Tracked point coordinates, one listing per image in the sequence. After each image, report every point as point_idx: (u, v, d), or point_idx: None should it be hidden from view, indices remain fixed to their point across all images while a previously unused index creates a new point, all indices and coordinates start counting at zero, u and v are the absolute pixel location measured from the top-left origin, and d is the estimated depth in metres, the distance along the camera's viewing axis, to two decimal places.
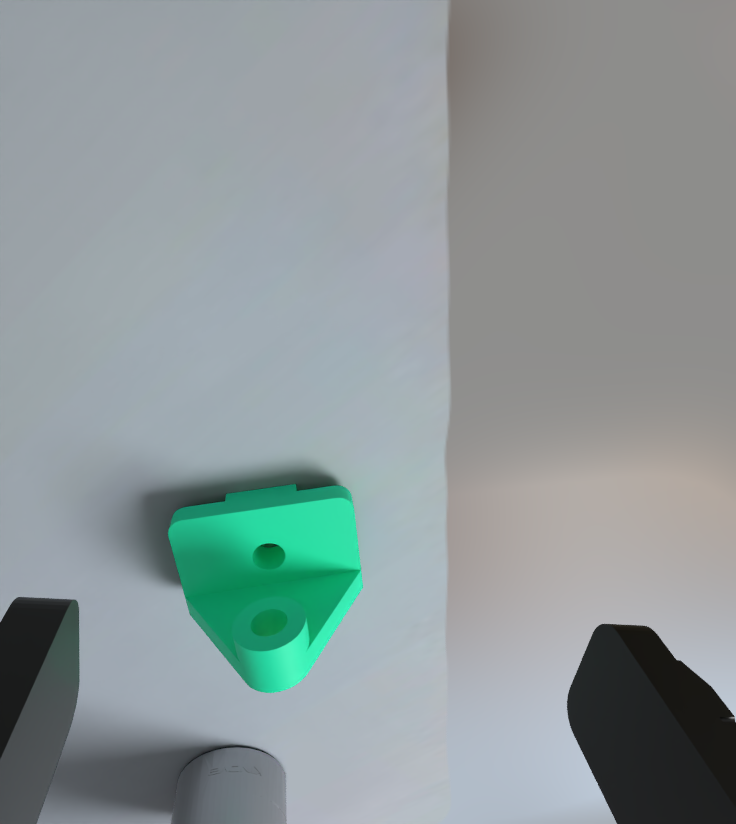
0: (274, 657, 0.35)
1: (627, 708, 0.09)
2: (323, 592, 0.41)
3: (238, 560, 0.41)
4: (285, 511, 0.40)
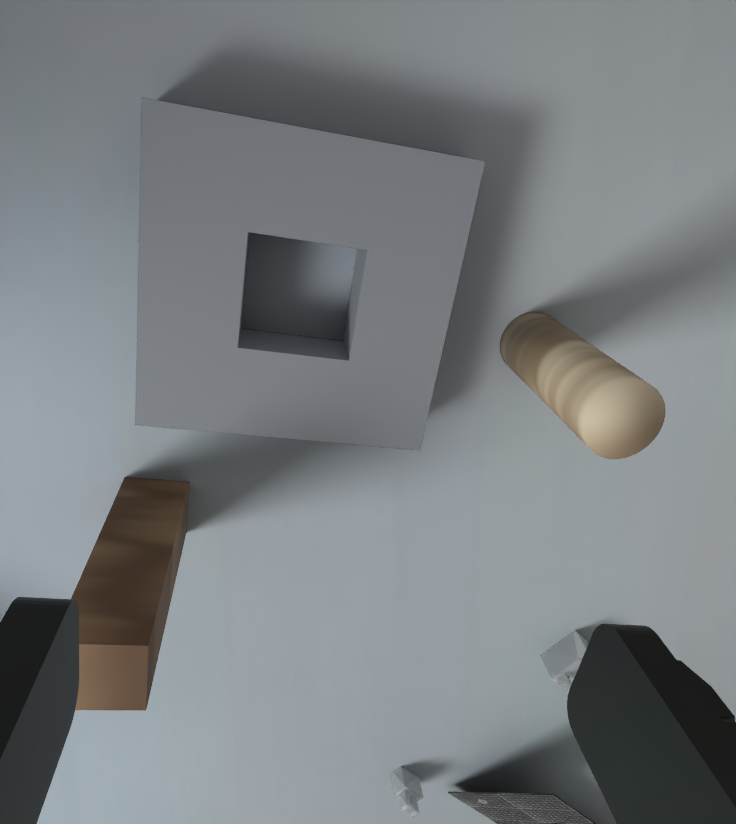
0: None
1: (627, 708, 0.09)
2: None
3: None
4: None
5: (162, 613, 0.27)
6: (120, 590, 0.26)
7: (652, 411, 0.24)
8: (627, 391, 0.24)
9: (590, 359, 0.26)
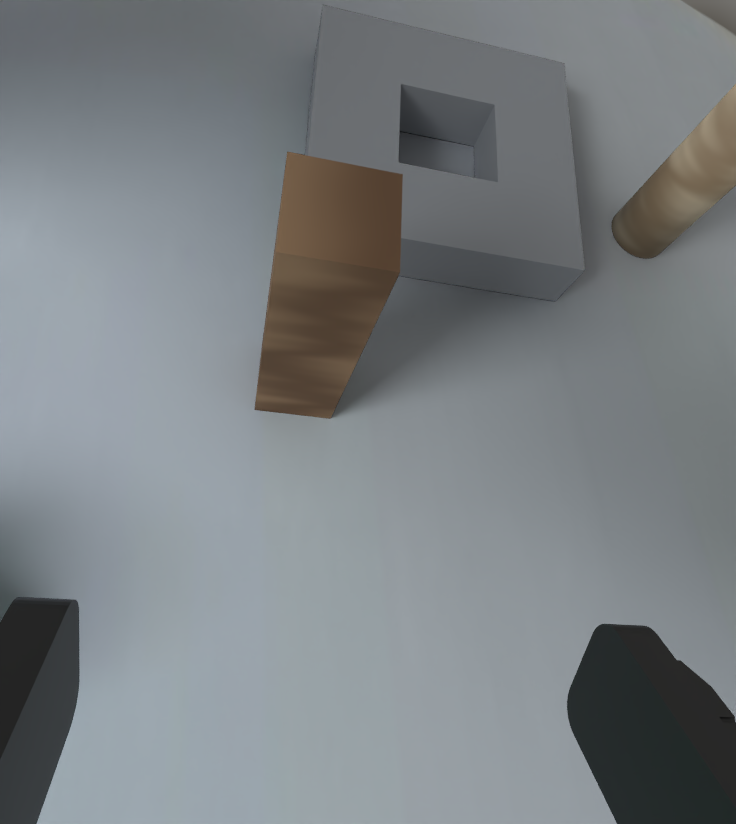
0: None
1: (627, 708, 0.09)
2: None
3: None
4: None
5: None
6: None
7: None
8: None
9: None
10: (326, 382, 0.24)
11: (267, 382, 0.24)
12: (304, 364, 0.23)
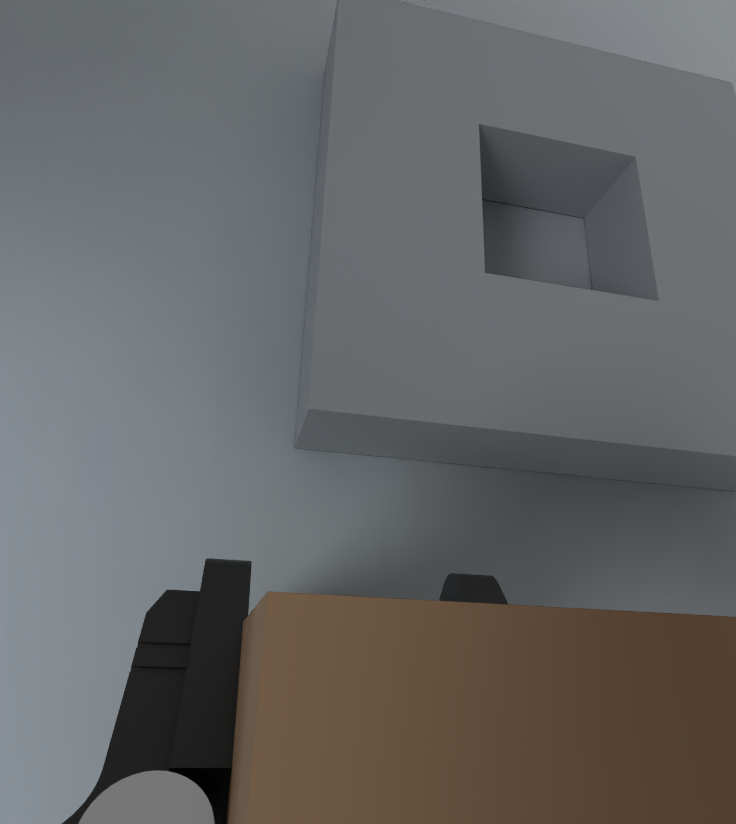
0: None
1: None
2: None
3: None
4: None
5: None
6: None
7: None
8: None
9: None
10: None
11: None
12: None
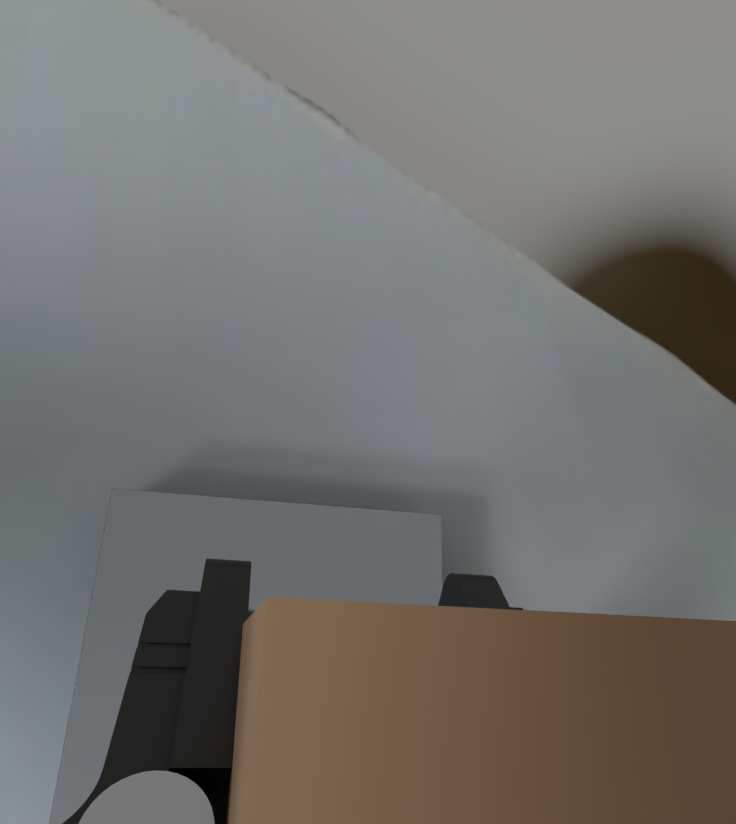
0: None
1: None
2: None
3: None
4: None
5: None
6: None
7: None
8: None
9: None
10: None
11: None
12: None
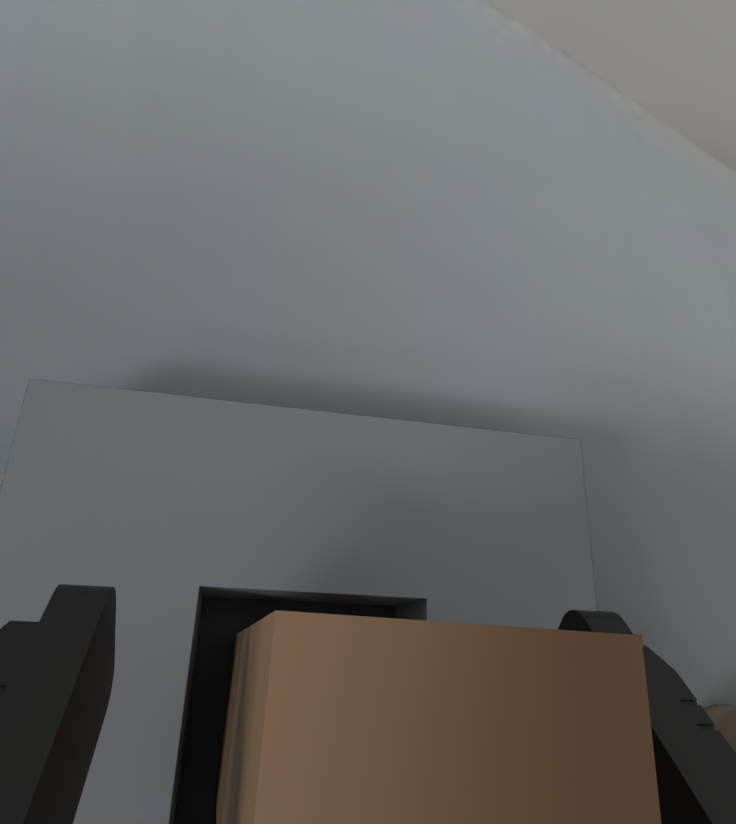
0: None
1: None
2: None
3: None
4: None
5: None
6: None
7: None
8: None
9: None
10: None
11: None
12: None
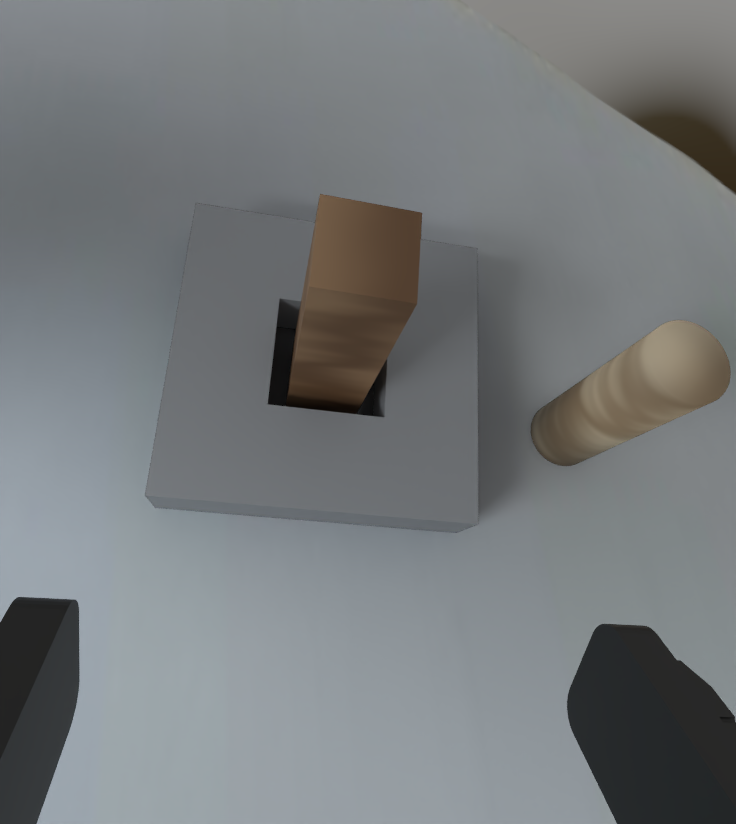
0: None
1: (627, 708, 0.09)
2: None
3: None
4: None
5: None
6: None
7: (712, 351, 0.23)
8: (678, 330, 0.23)
9: None
10: (351, 388, 0.27)
11: (297, 387, 0.27)
12: (331, 373, 0.25)
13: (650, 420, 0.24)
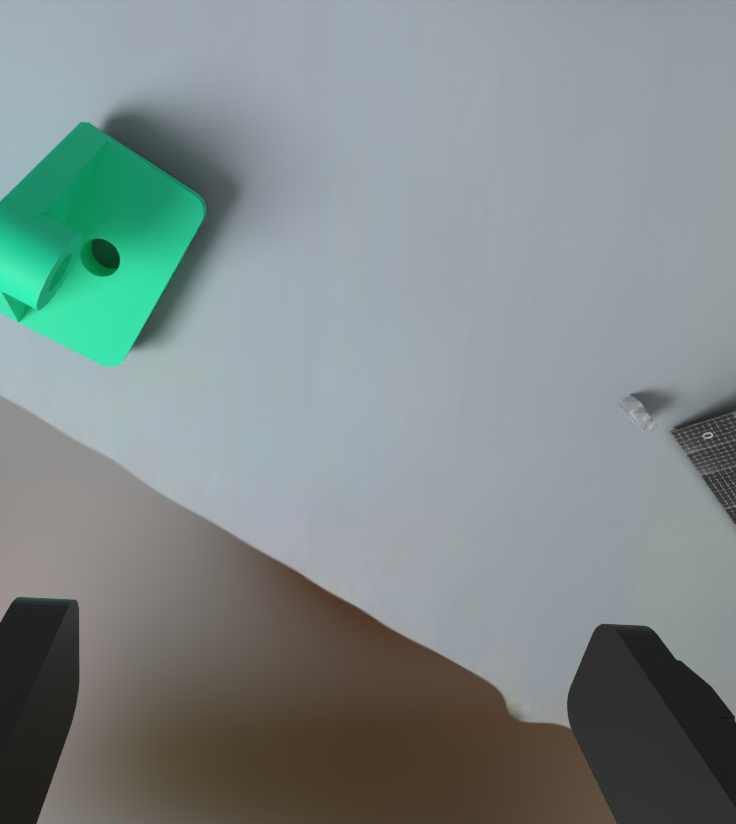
0: (31, 280, 0.28)
1: (627, 708, 0.09)
2: None
3: (116, 228, 0.35)
4: (141, 310, 0.37)
5: None
6: None
7: None
8: None
9: None
10: None
11: None
12: None
13: None
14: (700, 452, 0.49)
